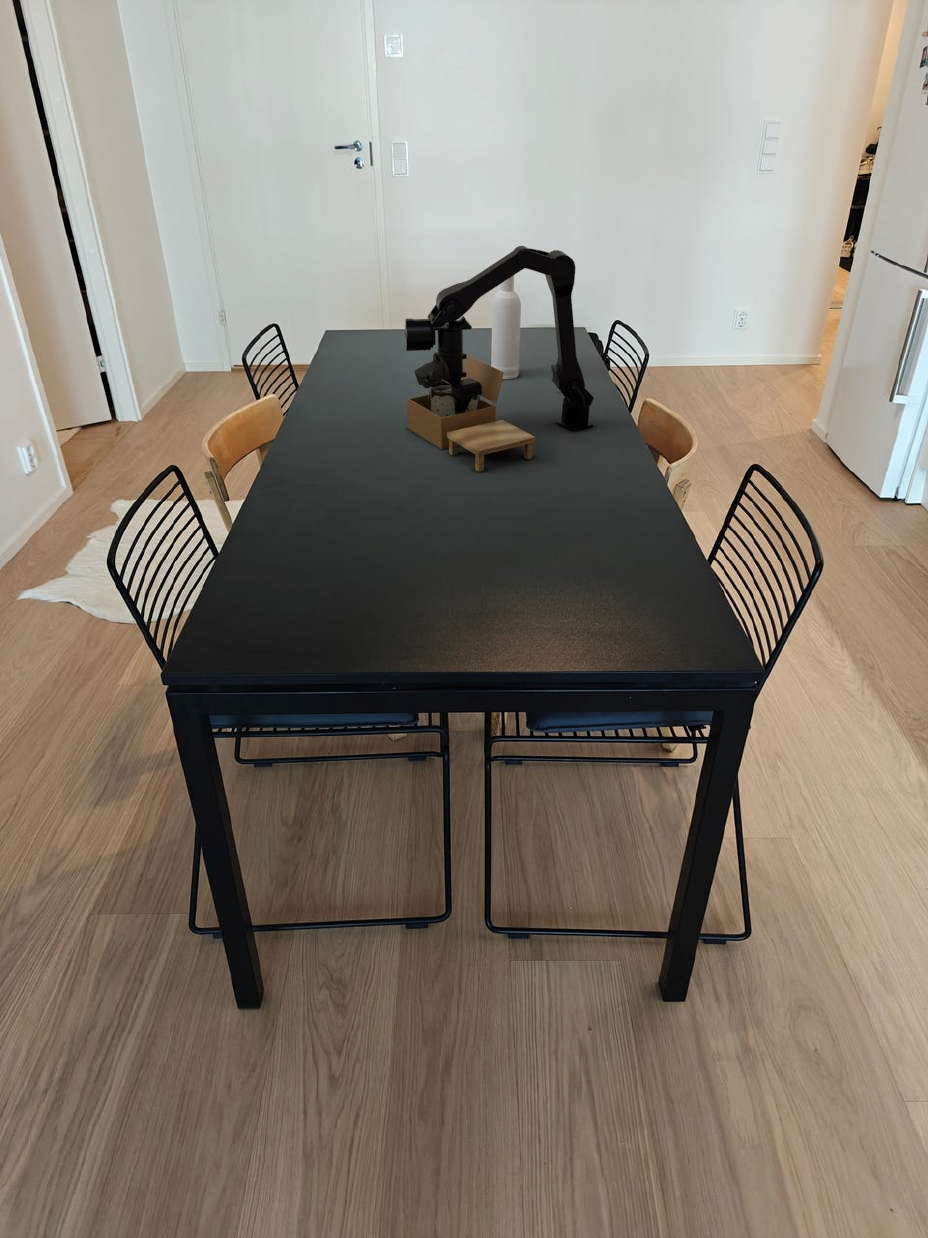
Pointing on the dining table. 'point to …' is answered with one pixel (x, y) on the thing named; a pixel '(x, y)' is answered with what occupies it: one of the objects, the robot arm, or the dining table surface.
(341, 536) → the dining table surface
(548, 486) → the dining table surface
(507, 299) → the bottle
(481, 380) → the flap
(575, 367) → the robot arm
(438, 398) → the food container
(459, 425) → the cardboard box
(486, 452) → the stool
